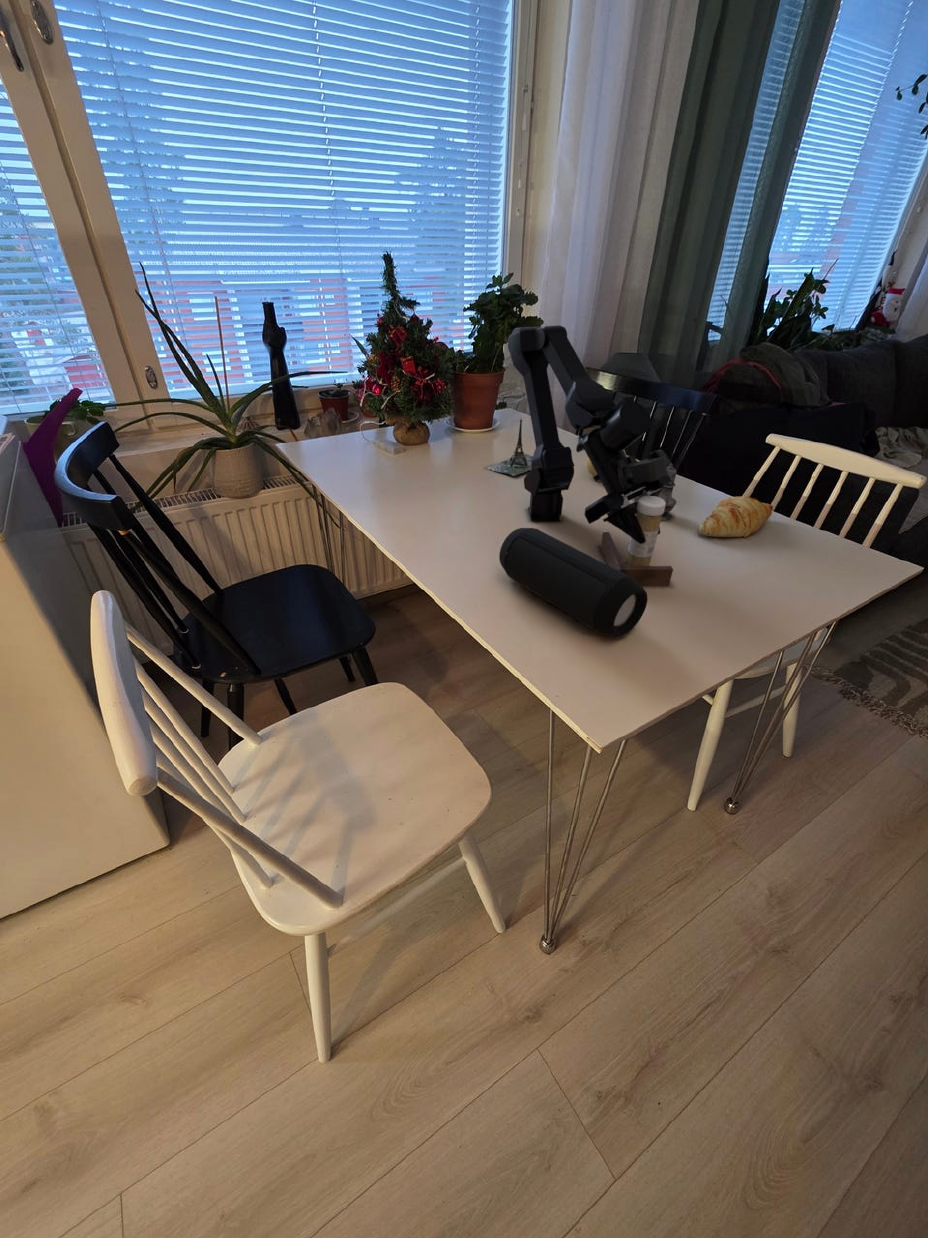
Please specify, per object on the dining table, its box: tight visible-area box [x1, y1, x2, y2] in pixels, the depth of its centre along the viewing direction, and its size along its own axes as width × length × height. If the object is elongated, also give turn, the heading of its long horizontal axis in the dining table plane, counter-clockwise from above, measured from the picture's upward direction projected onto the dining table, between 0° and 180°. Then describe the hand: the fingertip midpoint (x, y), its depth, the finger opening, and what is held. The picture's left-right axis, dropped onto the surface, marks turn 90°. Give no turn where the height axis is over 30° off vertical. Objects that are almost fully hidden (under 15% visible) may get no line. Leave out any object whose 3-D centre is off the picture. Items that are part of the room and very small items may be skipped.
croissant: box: [698, 495, 774, 538], centre depth 111 cm, size 21×10×8 cm, turn 119°
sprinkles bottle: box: [624, 496, 666, 566], centre depth 94 cm, size 5×5×13 cm
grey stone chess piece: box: [657, 462, 678, 522], centre depth 115 cm, size 6×6×12 cm
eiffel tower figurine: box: [486, 418, 533, 477], centre depth 139 cm, size 15×10×13 cm
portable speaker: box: [498, 527, 649, 638], centre depth 87 cm, size 26×10×10 cm, turn 38°
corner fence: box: [599, 531, 674, 587], centre depth 99 cm, size 9×14×4 cm, turn 0°
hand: (650, 538), depth 93 cm, fingers closed on sprinkles bottle, 4 cm apart
